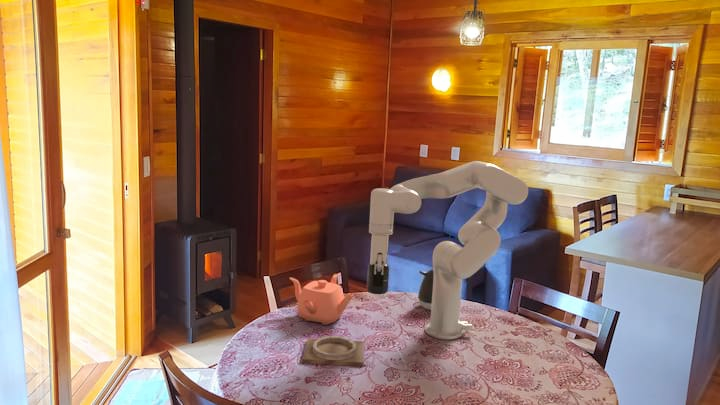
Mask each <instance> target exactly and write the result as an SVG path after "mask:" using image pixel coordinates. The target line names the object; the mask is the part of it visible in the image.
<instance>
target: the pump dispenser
mask: <svg viewBox="0 0 720 405" xmlns="http://www.w3.org/2000/svg"><path fill="white" fill-rule="evenodd" d="M418 273H419V274H420V275H422V276H423V278H422V281H421V282H420V283H421V284H420V286H419V288H418V289H419V290H418V295H417V296H418V297H417V298H418V301H419V304H420V305H421V307H422V308H424V309H426V310H429V311H431V304H432V291H433V276H434V272H433V268H432V269H429V270H428V271H427V272H426V271H423V270H419V272H418Z"/></svg>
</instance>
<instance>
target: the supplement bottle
mask: <svg viewBox="0 0 720 405" xmlns="http://www.w3.org/2000/svg"><path fill="white" fill-rule="evenodd" d="M377 258H378V256H377ZM382 261H383V260H382ZM387 262H388V258H387V259H386V265H385V266H383V274H384V280H383V287H376V286H373V274H374V271H375V264H372V265H371V264H370V263H369V264H368V265H367V277H366V278H367V279H366V291H367V292H368V293H370V294H373V295H384V294H387V293H388V290H389V280H390V265H389V264H388V263H387ZM376 264H378V263H376ZM376 268H377V267H376ZM381 268H382V267H381Z"/></svg>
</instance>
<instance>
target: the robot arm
mask: <svg viewBox="0 0 720 405" xmlns="http://www.w3.org/2000/svg"><path fill="white" fill-rule="evenodd" d="M477 188H478V189H479V190H483V191H485V193H486V194H485V201H484V204H483V205H482V206H481V208H480V209H479V210H478V211H477V212H476V213H475V214H474V215H473V216H472V217H471V218H469V220H467V222H465V224H463V225H462V226H461V228H459V230H458V234H457V238H458V241H459V243H461V244H462V245H463V246H462V245H460V244H458V243H456V242H453V241H452V240H451V241H450V240H443V241H441V242H439V243H438V244H437V245H436V246H435V247H434V249H433V252H432V267H433V268H432V269H433V272H434V276H433V291H432V304H431V310H430V320H429V321H430V322H428V323H427V324H425V327H424V331H425V333H426V334H427V335H429V336H431V337H432V338H435V339H439V340H456V339H459V338H460V337H462V335H463V331H464V330H467V331H473V324H472V323H468V321H461V320H460V309H461V298H462V296H461V295H462V286H463V280H464V279H468V278H470V277H472V276H473V275H475V273H477V272H478V271H479V270H480V269H481V268H482V267H483V266H484V265H485V264H486V263H487V262H488V261H489V260H490V259H491V258H493V256H495V255H496V253H498V250H499V249H500V246H501V242H502V241H501V239H502V238H501V234H500V233H499V231H498V230H497V229H499V228H500V226H501V225H502V224H503V223H504V221H506V218H507V215H508V214H507V213H508V204H509V205H515V206H516V205H521V204H522V203H523V202H525V200H526V199H527V198H528V196H529V187H528V185H527V183H526V182H525V181H524V179H521V178H519V177H517V176H516V175H514V174H512V173H510V172H508V171H506V170H505V169H502V168H501V167H499V166H497V165H496V164H495V165H494V164H492V163H490V162H489V163H488V162H484V161H480V160H473V161H470V162H466V163H464V164H461V165H458V166H455V167H453V168H450V169H448V170H444V171H442V172H439V173H434V174H428V175H425V176H420V177H415V178H412V179H408V180H406V181H402V182H401V183H397V184H395V185H393V186H392V187H391V188H383V187H382V188H381V187H380V188H374V189H372V190H371V192H370V205H369V209H370V210H369V223H368V233H369V234H371V239H370V240H371V241H370V261H369V264H371V265H372V264H375V271H374V274H373V286H376V287H383V280H384V274H383V266H385V265H386V263H387V262H386V259H387V260H388V249H389V239H390V238H389V237H390V235H393V234H394V218H395V217H394V216H395V213H398V214H406V215H410V214H414V213H416V212H418V211H419V210H420V209H421V206H422V200H424V199H449V198H452V197H455V196H458V195H460V194H463V193H465V192H468V191H471V190H474V189H477ZM377 256H378V258H377ZM382 260H383V261H382ZM376 263H378V264H376ZM376 267H377V268H376ZM381 267H382V268H381Z"/></svg>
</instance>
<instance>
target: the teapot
mask: <svg viewBox="0 0 720 405" xmlns="http://www.w3.org/2000/svg"><path fill="white" fill-rule="evenodd" d="M338 277H339V275H338V274H337V273H334V274H333V275H332V277H331V280H330V281H329V282H328V281H327V280H325V279H319V280H313V281H310V282H309V283H307V284H306V285H304V286H303V287H302V288H301V284H300V281H299V280H298V279H296V278H294V277H289V280H291V282H292V283H293V285H294V291H295V292H294V293H295V299H296V301H297V314H298V315H299V317H300V318H301V319H304V321H306V322H315V323H321V325H324V326H327V325H330V324H332V323H334V322H336V321H337V320H339V318H341V317H342V316H343V314H344V312H345V309H346V308H347V307H348V305H349V303H351V302H350V301H351V300H352V299H353V297H354V294H352V293H351V292H349V293H348V292H347V295H345V294H344V292H343V288H342V285H340V284H337V278H338Z"/></svg>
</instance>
